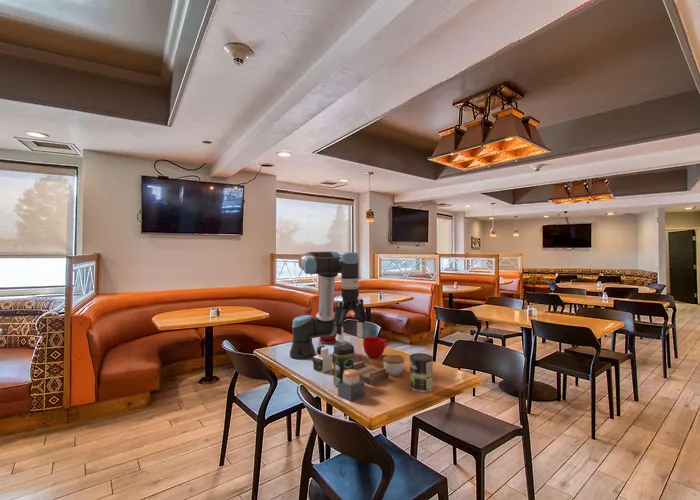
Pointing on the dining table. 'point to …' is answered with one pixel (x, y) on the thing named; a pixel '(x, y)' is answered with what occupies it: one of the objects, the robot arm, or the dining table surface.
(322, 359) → the medicine bottle
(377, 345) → the ceramic cup
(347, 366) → the coffee jar
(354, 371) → the release button
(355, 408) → the dining table surface
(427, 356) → the coffee can
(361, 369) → the cradle rack
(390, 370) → the lidded jar
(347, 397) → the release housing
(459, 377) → the dining table surface
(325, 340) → the plant pot
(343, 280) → the robot arm
